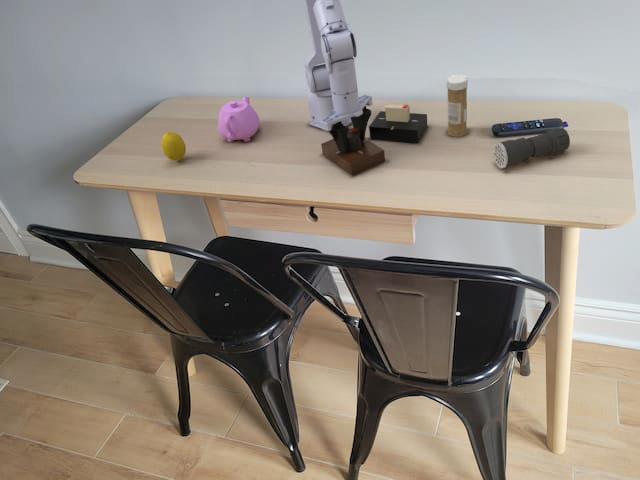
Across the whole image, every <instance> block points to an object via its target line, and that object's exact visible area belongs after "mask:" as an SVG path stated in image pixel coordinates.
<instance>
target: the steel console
mask: <svg viewBox="0 0 640 480" xmlns="http://www.w3.org/2000/svg"><path fill="white" fill-rule="evenodd" d="M428 126H429V125H428V114H427V113H416V112H415V113H414V112H410V120H409V122H396V121H386V112H385V110H380V111H379V112H378V114H377V115H376V116H375V118H374V119H373V121H372V122H371V123H370V124H369V125H368V130H369V139H370V140H372V141H382V142H383V141H384V142H395V143H407V144H416V145H417V144H419V143H420V141H421V140H422V138H423V136H424V134H425V133H426V131H427V130H428ZM370 140H369V141H370Z"/></svg>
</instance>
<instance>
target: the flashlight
mask: <svg viewBox="0 0 640 480" xmlns="http://www.w3.org/2000/svg"><path fill="white" fill-rule="evenodd" d="M570 143H571V140H570V135H569V132H568V131H567V130H566V129H565V128H560V127H557V128H553V129H549V130H548V131H547V132H544V133H540V134H538V135H534V136H531V137H527V138H525V137H519V138H516V139H507V140H503V141H499V142H496V143H495V144H494V145H493V157H494V158H493V159H494V162H495V164H496V165H497V167H498V168H499V169H506V168H510V167H513V166H516V165H518V164H521V163H525V162H528V161H529V160H530V159H532V158H537V157H540V156H547V155H556V154H561V153H564V152H565V151H566V150H568V149H569V147H570Z"/></svg>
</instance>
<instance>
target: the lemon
mask: <svg viewBox="0 0 640 480" xmlns="http://www.w3.org/2000/svg"><path fill="white" fill-rule="evenodd" d="M160 145H161V149H162V152H163V155H165V156H166V158H167V159H169V160H171V161H176V162H180V161H181V160H182V159H183V158H184V157H185V155H186V151H187V147H186V142H185V141H184V139H183V138H182V136H181V135H180V134H178V132H174V131H167V132H166V133H164V134H163V136H162V138H161V142H160Z"/></svg>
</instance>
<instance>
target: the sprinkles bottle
mask: <svg viewBox="0 0 640 480" xmlns="http://www.w3.org/2000/svg"><path fill="white" fill-rule="evenodd" d="M468 83H469V79H468V77H467V76H466V75H464V74H453V75H451V76H448V77H447V78H446V88H447V134H448V135H449V136H450V137H455V138H456V137H458V138H459V137H463V136H464V135H466V134H467V132H468V129H467V127H468V126H467V124H468V123H467V122H468V121H467V119H468V101H467V98H468V96H467V94H468V93H467V89H468V85H469V84H468Z"/></svg>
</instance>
